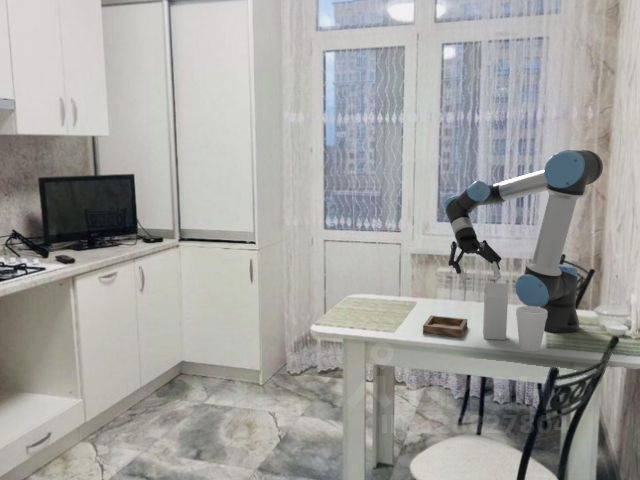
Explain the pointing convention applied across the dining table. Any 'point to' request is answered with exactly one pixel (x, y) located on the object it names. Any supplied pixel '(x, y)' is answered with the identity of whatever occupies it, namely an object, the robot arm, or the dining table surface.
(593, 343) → the dining table surface
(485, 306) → the milk carton
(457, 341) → the dining table surface
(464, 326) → the tray
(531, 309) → the foam cup
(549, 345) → the dining table surface
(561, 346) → the dining table surface
